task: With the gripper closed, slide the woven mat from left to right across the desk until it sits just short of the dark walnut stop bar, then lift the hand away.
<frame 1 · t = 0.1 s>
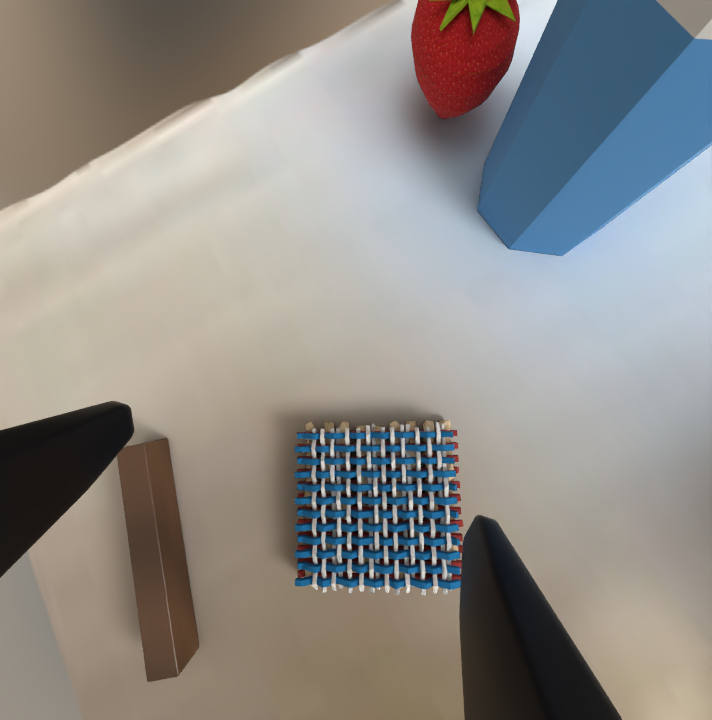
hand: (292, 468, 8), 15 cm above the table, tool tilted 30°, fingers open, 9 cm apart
woven mat: (378, 497, 23), on the table
water bottle: (541, 195, 24), on the table
stop bar: (169, 541, 23), on the table
strawberry: (444, 114, 25), on the table
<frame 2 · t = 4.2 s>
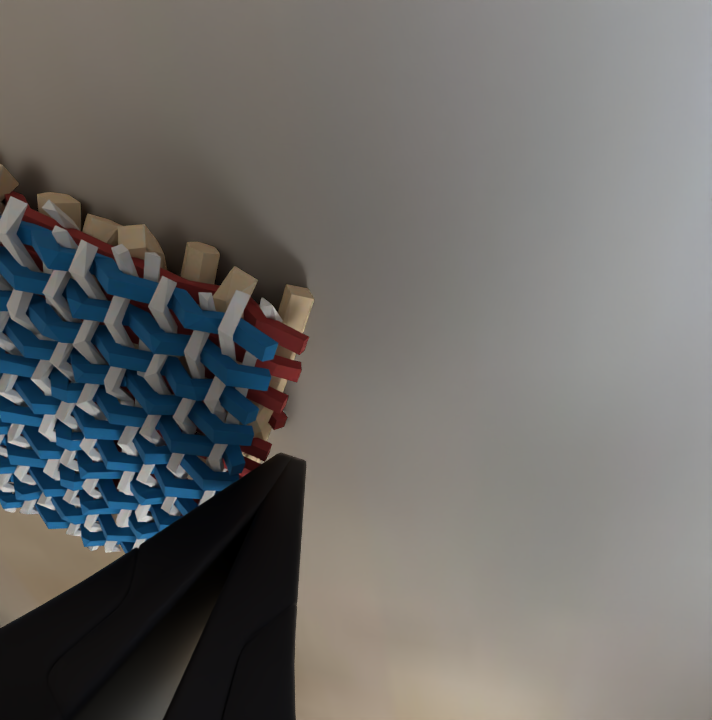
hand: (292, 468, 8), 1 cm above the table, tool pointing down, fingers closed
woven mat: (120, 380, 10), on the table, touching gripper
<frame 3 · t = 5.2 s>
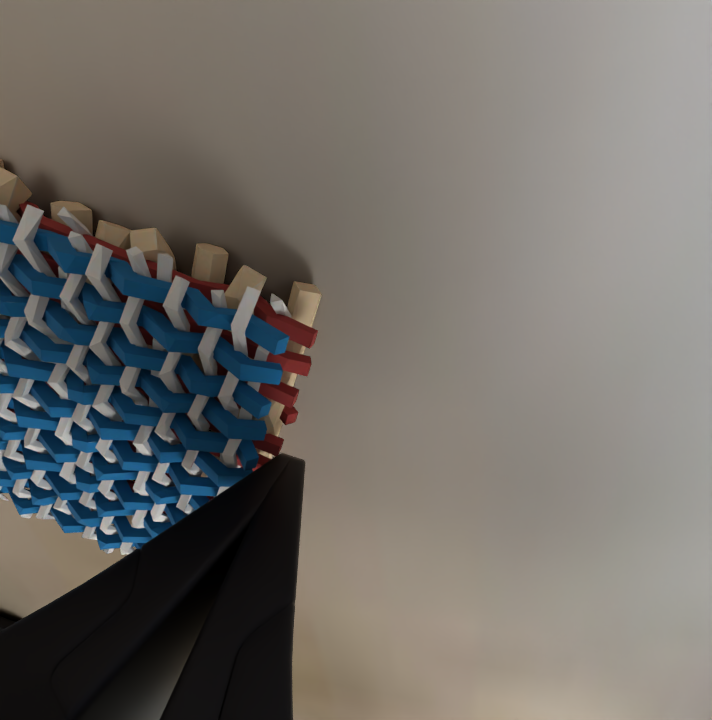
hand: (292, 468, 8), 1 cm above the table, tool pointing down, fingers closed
woven mat: (131, 384, 10), on the table, touching gripper
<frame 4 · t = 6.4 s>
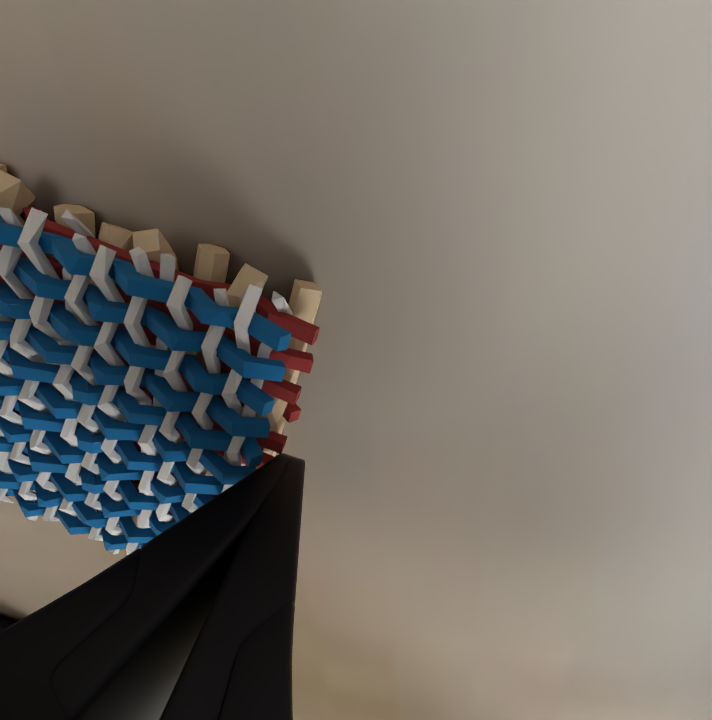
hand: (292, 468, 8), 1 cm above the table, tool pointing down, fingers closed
woven mat: (134, 385, 10), on the table, touching gripper
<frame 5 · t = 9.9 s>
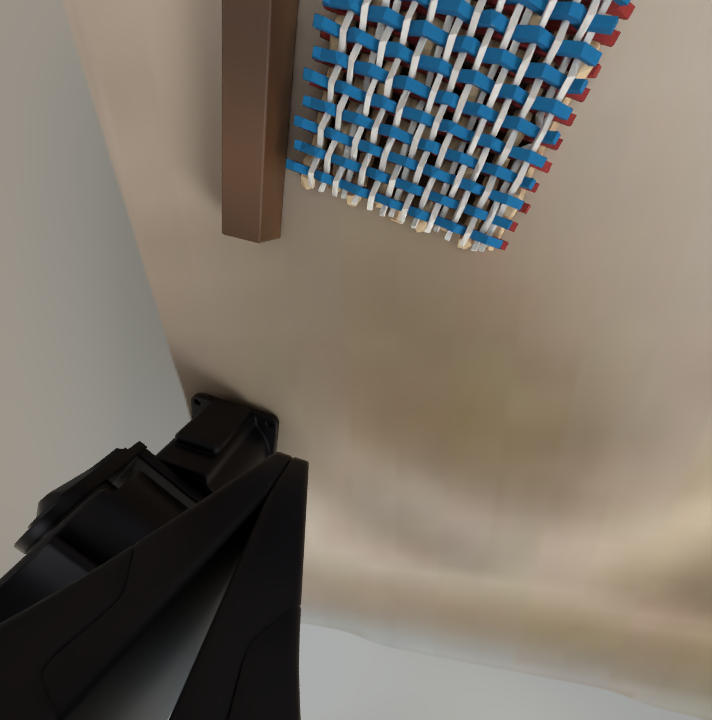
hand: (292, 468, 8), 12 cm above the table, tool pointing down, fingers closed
woven mat: (440, 96, 14), on the table
stop bar: (272, 70, 15), on the table
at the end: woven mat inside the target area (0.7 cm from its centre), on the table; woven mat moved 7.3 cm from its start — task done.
